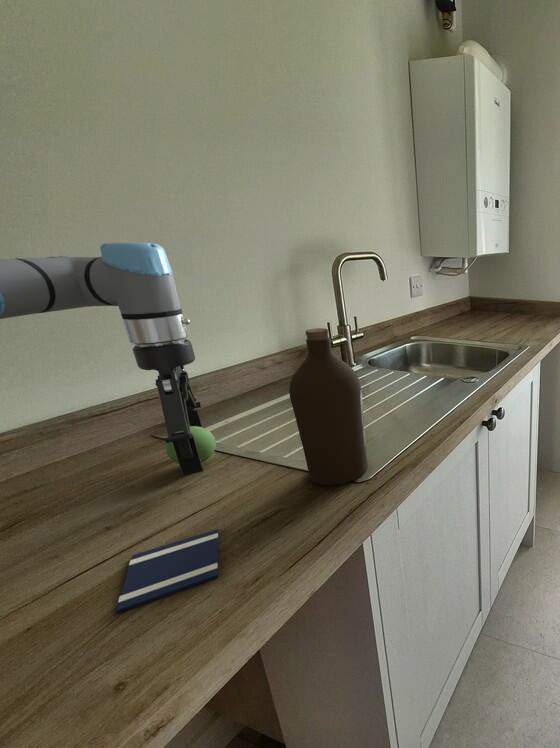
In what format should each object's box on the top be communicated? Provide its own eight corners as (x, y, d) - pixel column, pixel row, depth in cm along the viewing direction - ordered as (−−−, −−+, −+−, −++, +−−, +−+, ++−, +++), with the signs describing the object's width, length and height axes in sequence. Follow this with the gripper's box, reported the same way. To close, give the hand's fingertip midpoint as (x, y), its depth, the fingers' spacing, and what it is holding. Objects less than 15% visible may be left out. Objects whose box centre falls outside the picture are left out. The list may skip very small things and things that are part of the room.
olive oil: (321, 496, 64) (292, 340, 56) (296, 472, 71) (267, 330, 63) (382, 470, 71) (365, 329, 63) (354, 450, 78) (335, 321, 70)
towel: (133, 557, 52) (132, 554, 52) (218, 531, 56) (217, 528, 56) (117, 613, 44) (115, 610, 44) (218, 577, 49) (217, 573, 48)
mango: (174, 460, 75) (163, 425, 73) (220, 450, 79) (211, 417, 77) (170, 477, 70) (158, 440, 67) (219, 465, 73) (210, 430, 71)
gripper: (184, 353, 59) (220, 480, 66) (194, 327, 79) (220, 427, 86) (115, 362, 55) (160, 496, 62) (143, 332, 75) (175, 436, 82)
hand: (195, 456), depth 74 cm, fingers open, 13 cm apart
